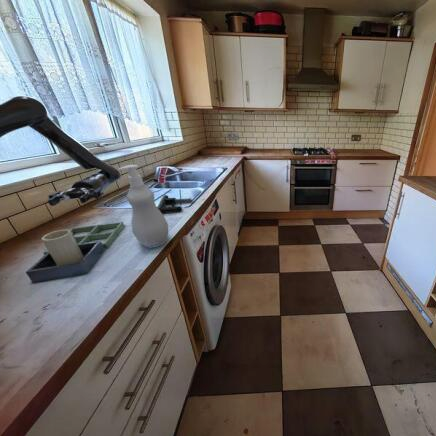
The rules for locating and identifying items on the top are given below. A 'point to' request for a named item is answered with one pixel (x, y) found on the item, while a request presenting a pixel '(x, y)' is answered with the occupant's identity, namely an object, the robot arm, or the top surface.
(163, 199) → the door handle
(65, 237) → the cup
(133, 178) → the soap bottle
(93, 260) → the black tray
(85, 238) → the green divided tray
